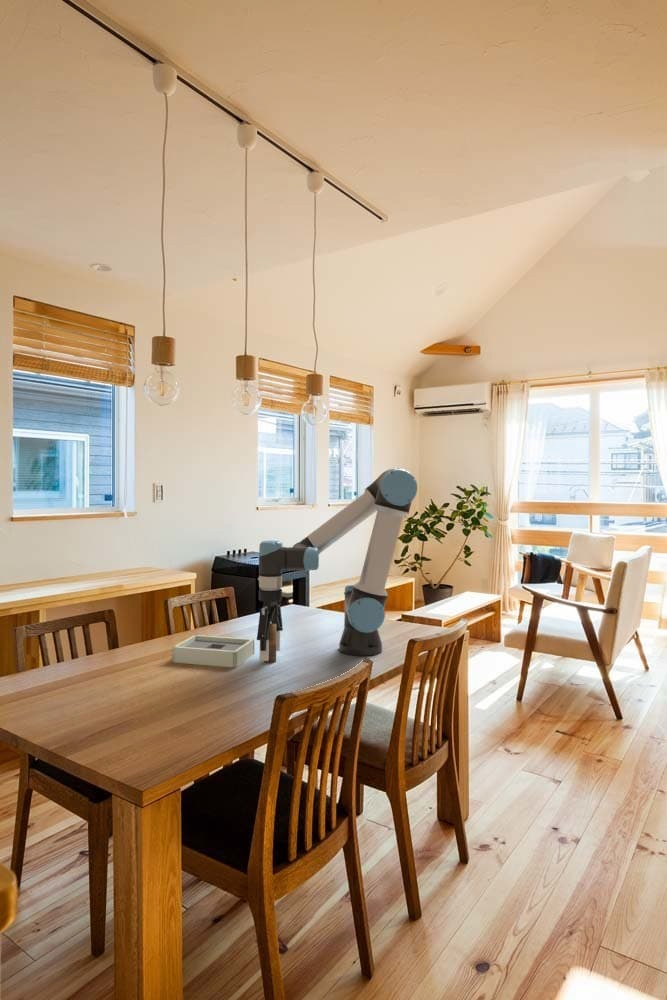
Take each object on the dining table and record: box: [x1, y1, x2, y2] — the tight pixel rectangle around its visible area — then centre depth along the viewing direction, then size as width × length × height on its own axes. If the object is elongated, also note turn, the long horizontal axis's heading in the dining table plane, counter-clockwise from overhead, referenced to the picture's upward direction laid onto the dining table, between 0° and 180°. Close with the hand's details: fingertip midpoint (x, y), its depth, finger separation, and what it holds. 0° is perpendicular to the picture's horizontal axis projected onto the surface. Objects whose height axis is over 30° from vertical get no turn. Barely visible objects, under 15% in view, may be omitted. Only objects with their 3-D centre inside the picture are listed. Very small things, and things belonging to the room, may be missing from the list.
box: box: [171, 634, 255, 669], centre depth 202 cm, size 22×16×5 cm
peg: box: [263, 623, 277, 664], centre depth 199 cm, size 4×4×12 cm
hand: (270, 655), depth 199 cm, fingers open, 11 cm apart
